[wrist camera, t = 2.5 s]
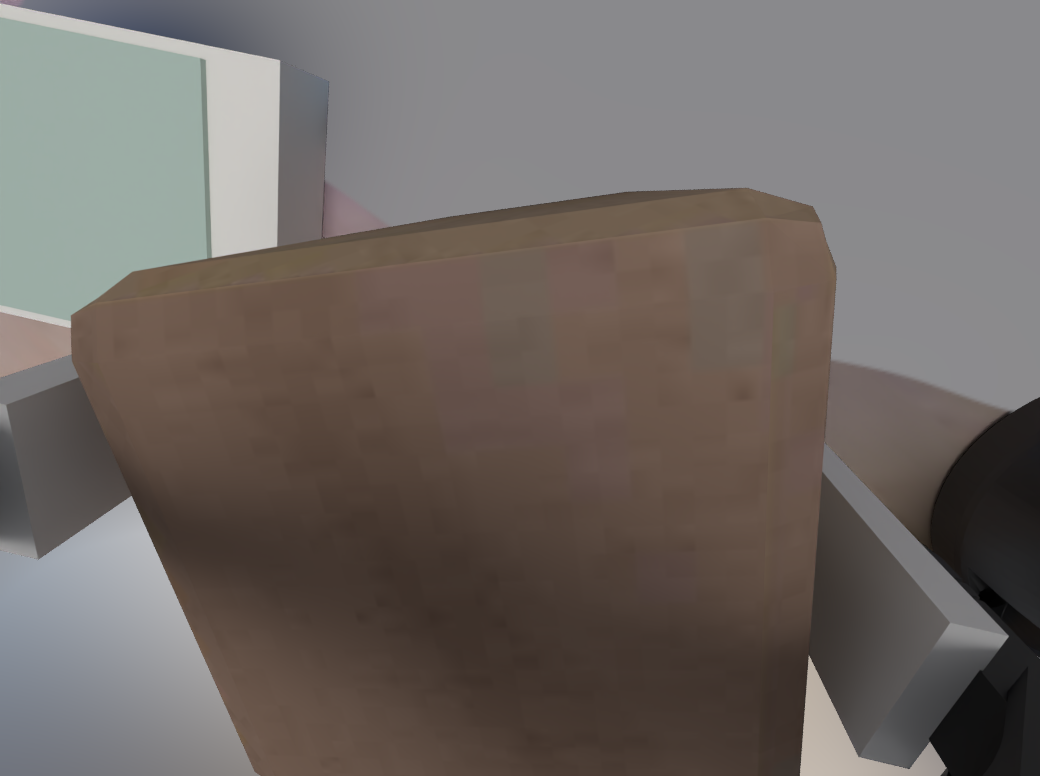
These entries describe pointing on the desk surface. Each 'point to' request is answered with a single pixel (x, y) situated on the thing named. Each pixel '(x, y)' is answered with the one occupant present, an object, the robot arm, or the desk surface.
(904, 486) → the desk surface
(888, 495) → the desk surface
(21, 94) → the plinth
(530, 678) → the wooden block
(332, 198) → the desk surface
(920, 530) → the desk surface
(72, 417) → the robot arm
